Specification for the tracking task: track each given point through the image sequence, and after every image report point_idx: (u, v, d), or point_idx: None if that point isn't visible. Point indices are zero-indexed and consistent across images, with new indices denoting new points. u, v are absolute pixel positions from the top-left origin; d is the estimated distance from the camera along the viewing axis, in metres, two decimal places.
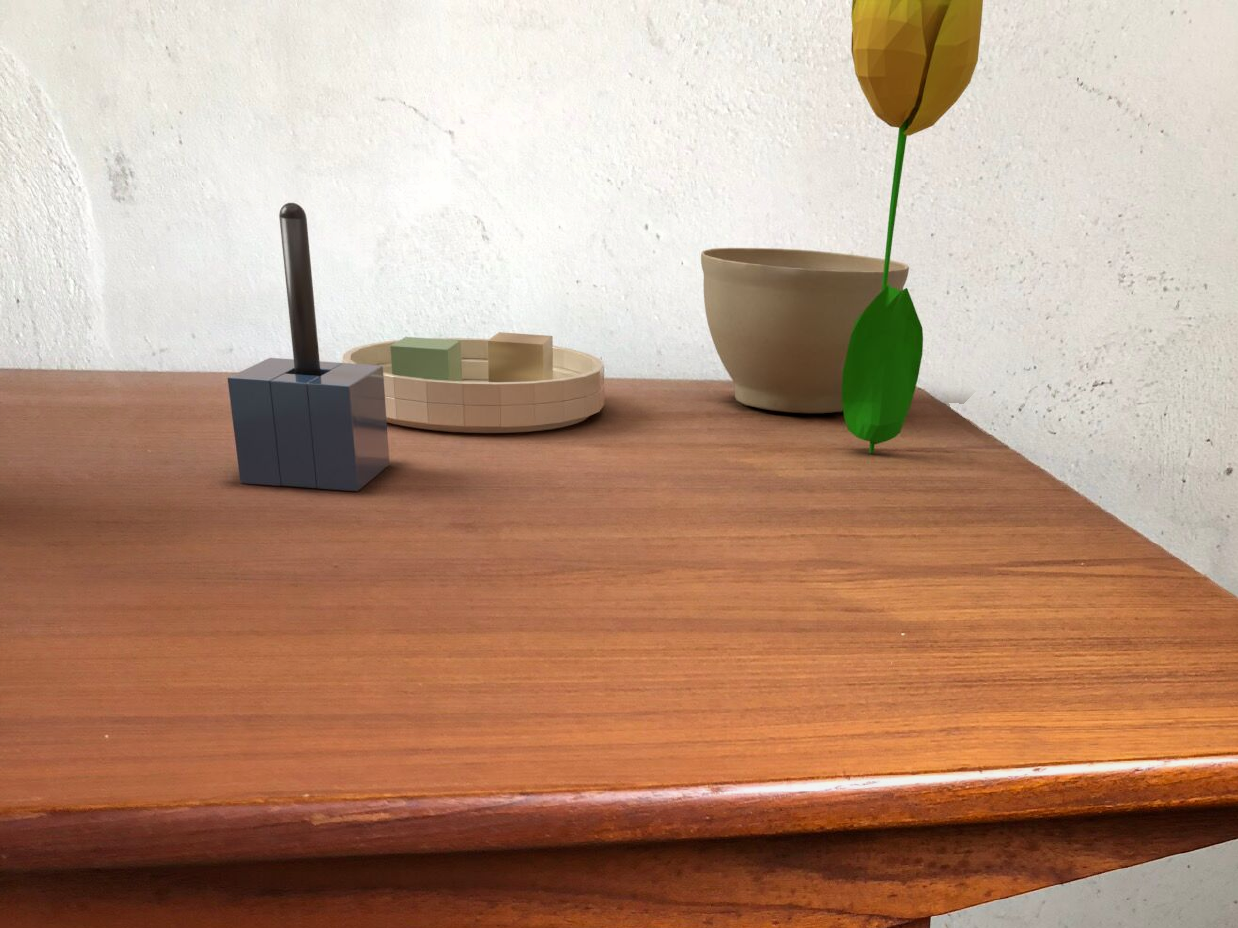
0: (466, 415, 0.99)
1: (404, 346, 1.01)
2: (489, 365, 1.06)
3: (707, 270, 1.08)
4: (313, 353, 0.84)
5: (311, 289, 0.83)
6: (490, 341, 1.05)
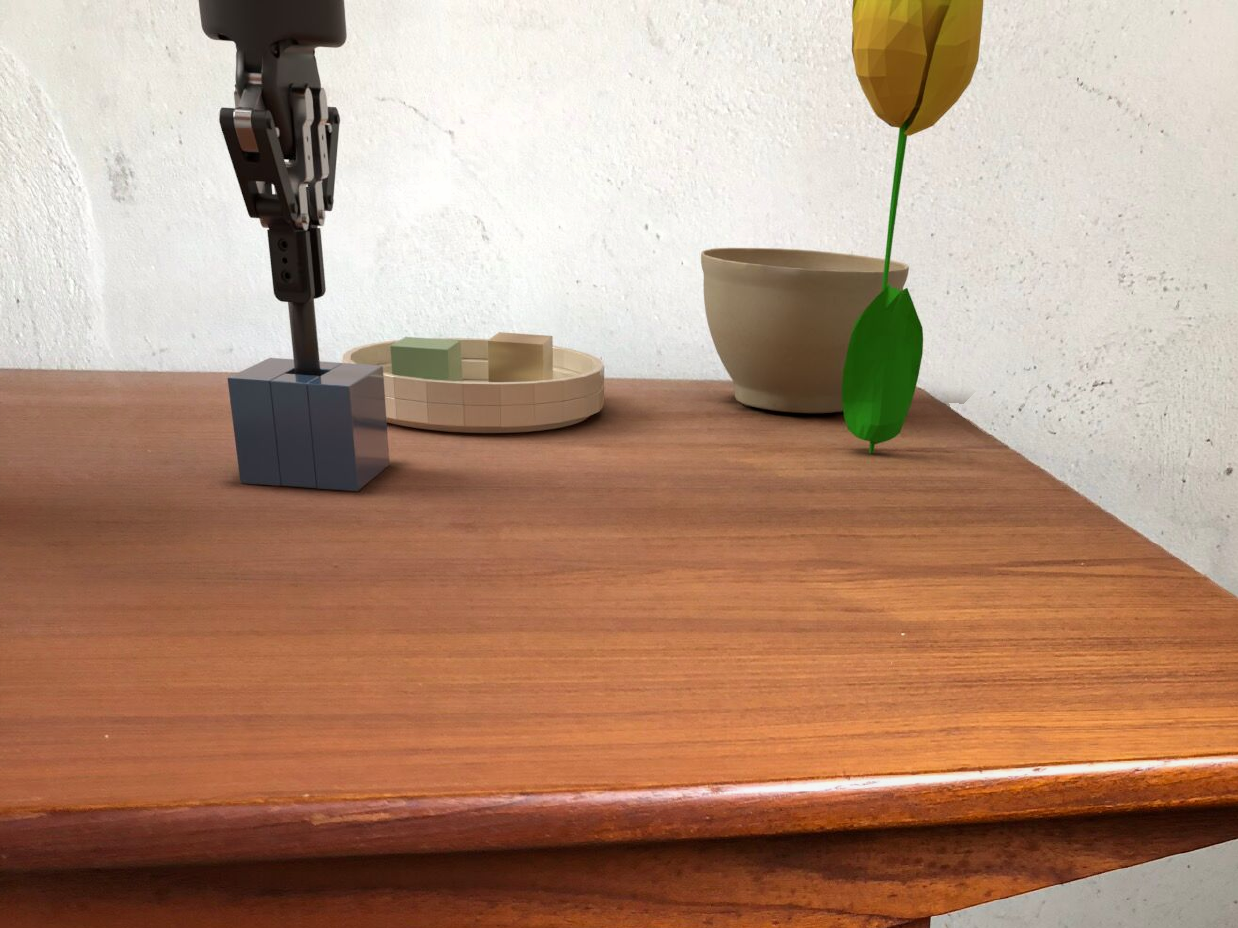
0: (466, 415, 0.99)
1: (404, 346, 1.01)
2: (489, 365, 1.06)
3: (707, 270, 1.08)
4: (313, 353, 0.84)
5: None
6: (490, 341, 1.05)
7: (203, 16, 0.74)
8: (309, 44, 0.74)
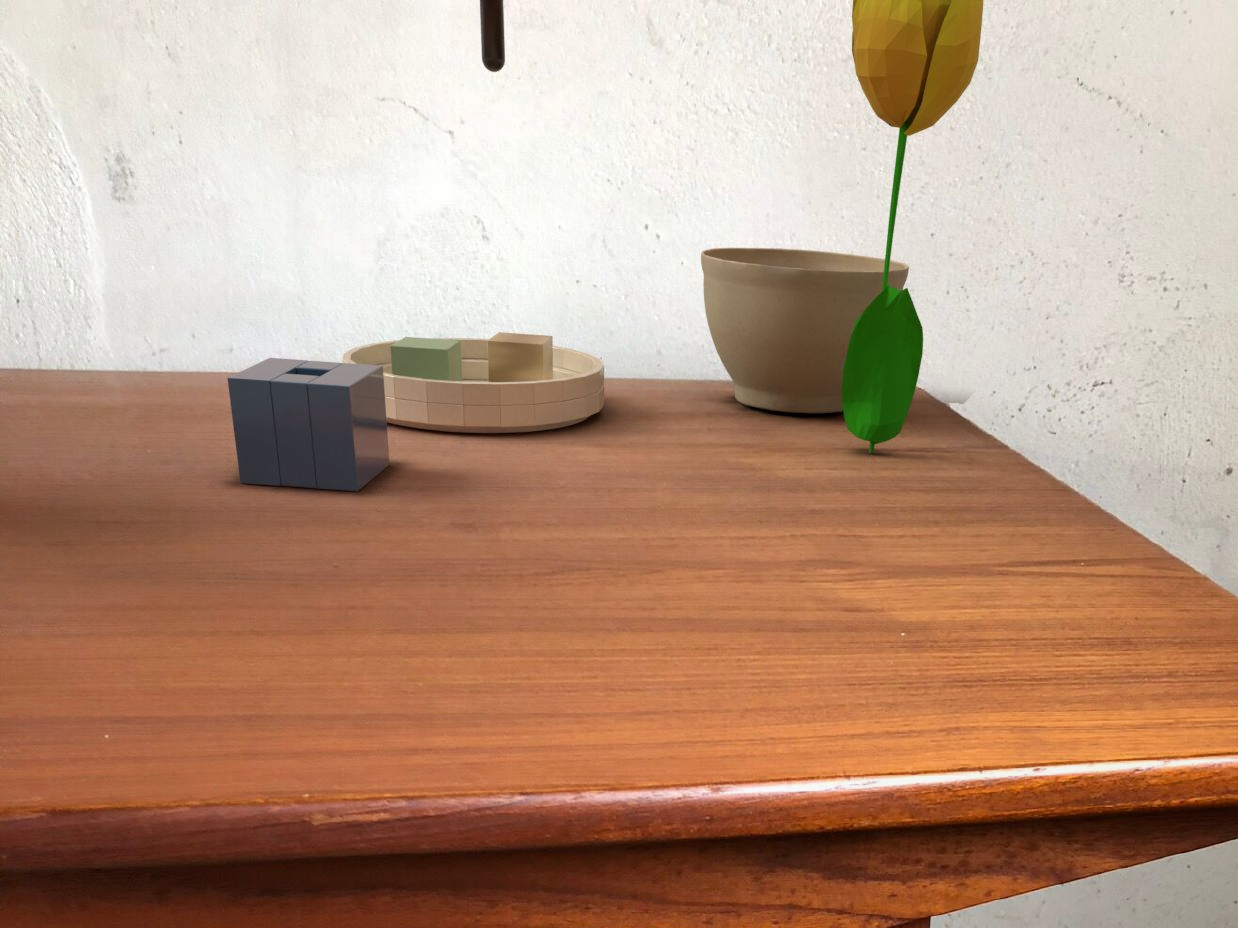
0: (466, 415, 0.99)
1: (404, 346, 1.01)
2: (489, 365, 1.06)
3: (707, 270, 1.08)
4: None
5: None
6: (490, 341, 1.05)
7: None
8: None
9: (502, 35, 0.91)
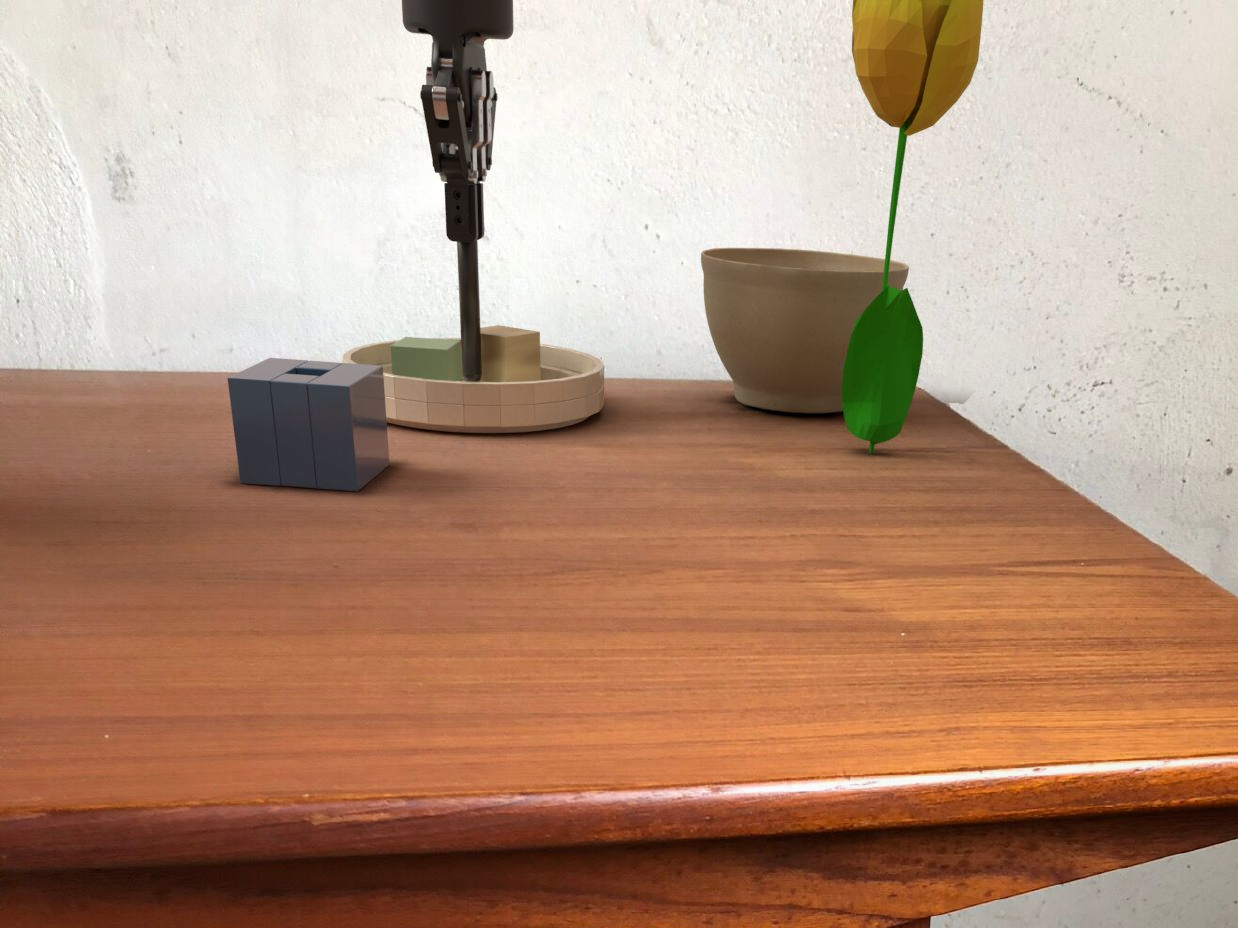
0: (466, 415, 0.99)
1: (404, 346, 1.01)
2: None
3: (707, 270, 1.08)
4: (475, 284, 1.05)
5: None
6: None
7: (406, 14, 0.95)
8: (488, 36, 0.95)
9: (479, 356, 1.08)
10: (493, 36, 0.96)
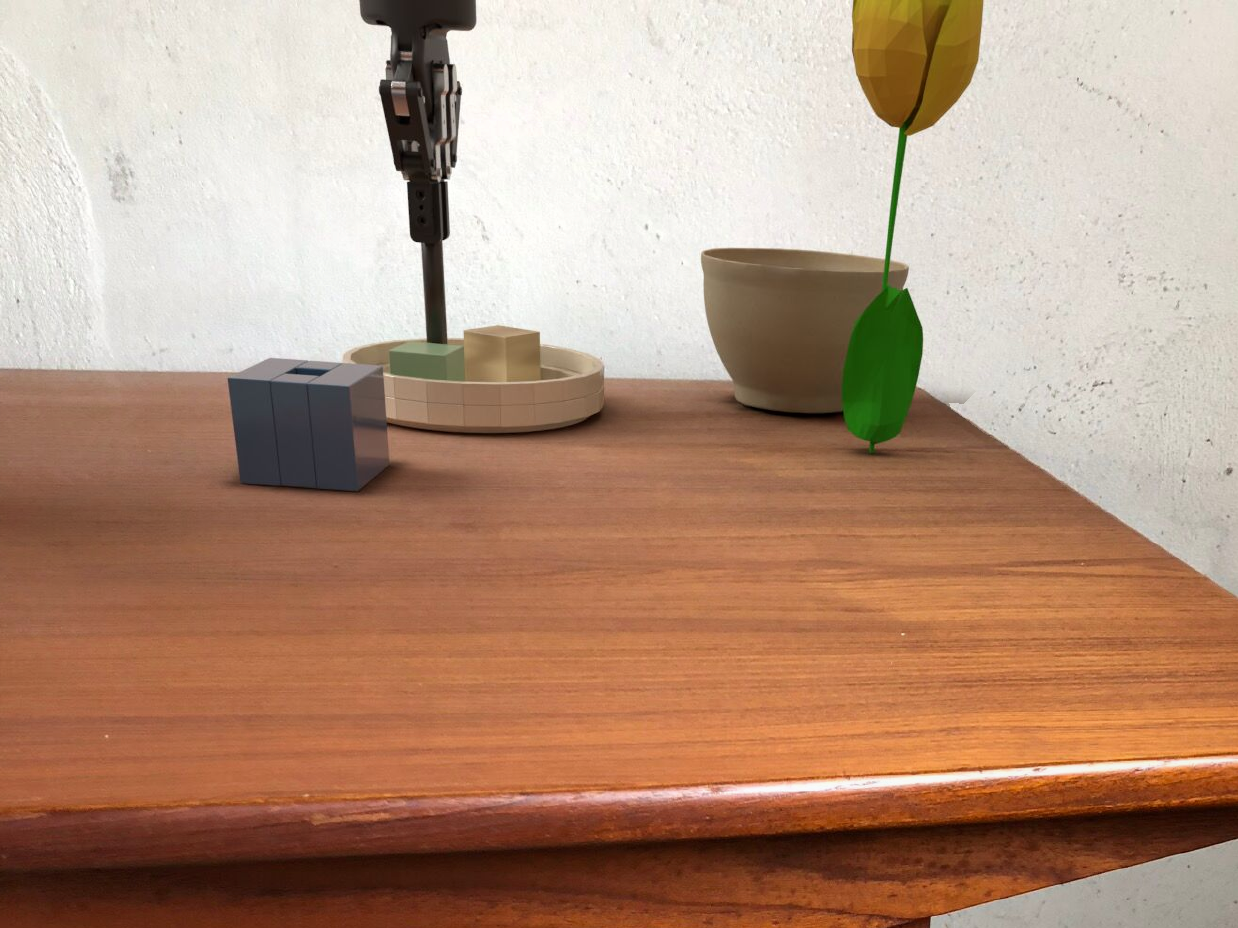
0: (466, 415, 0.99)
1: (403, 351, 1.00)
2: (465, 354, 1.10)
3: (707, 270, 1.08)
4: (440, 286, 1.01)
5: None
6: (465, 331, 1.09)
7: (364, 5, 0.91)
8: (449, 28, 0.91)
9: None
10: (455, 28, 0.91)
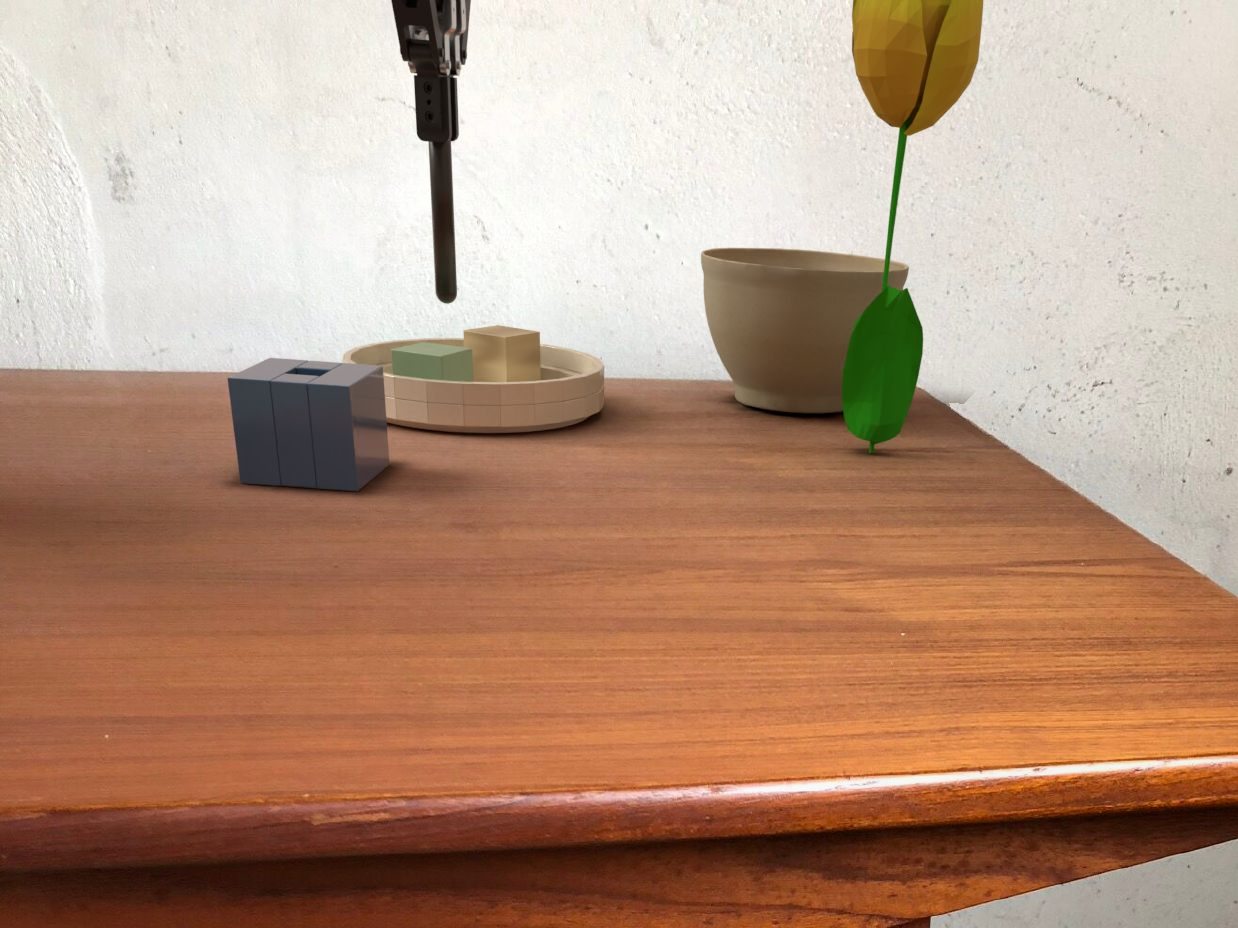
0: (466, 415, 0.99)
1: (404, 350, 1.00)
2: None
3: (707, 270, 1.08)
4: (448, 190, 0.96)
5: None
6: (465, 331, 1.09)
7: None
8: None
9: (454, 273, 0.99)
10: None
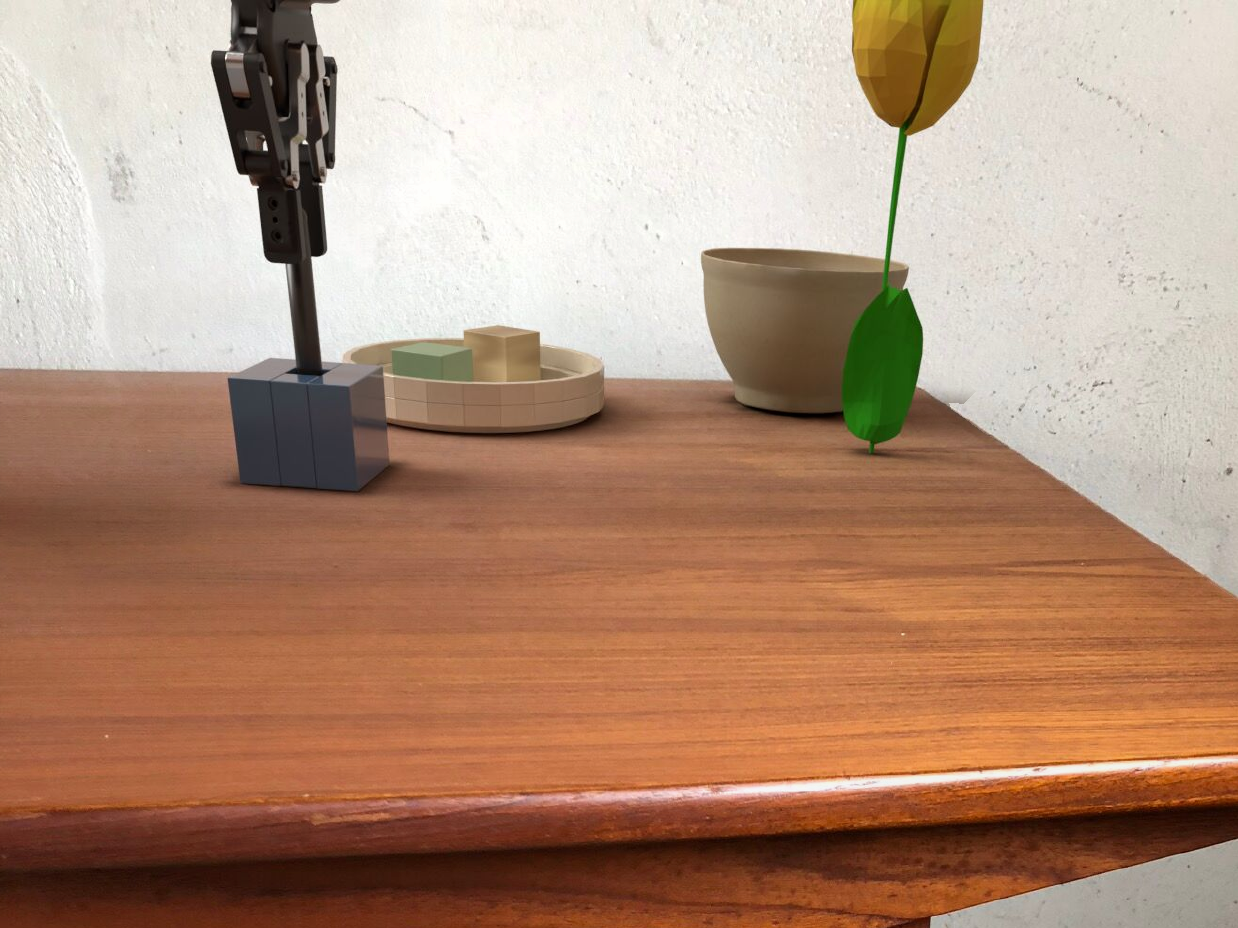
0: (466, 415, 0.99)
1: (404, 351, 1.00)
2: None
3: (707, 270, 1.08)
4: (314, 353, 0.84)
5: (312, 289, 0.83)
6: (465, 331, 1.09)
7: None
8: None
9: None
10: None
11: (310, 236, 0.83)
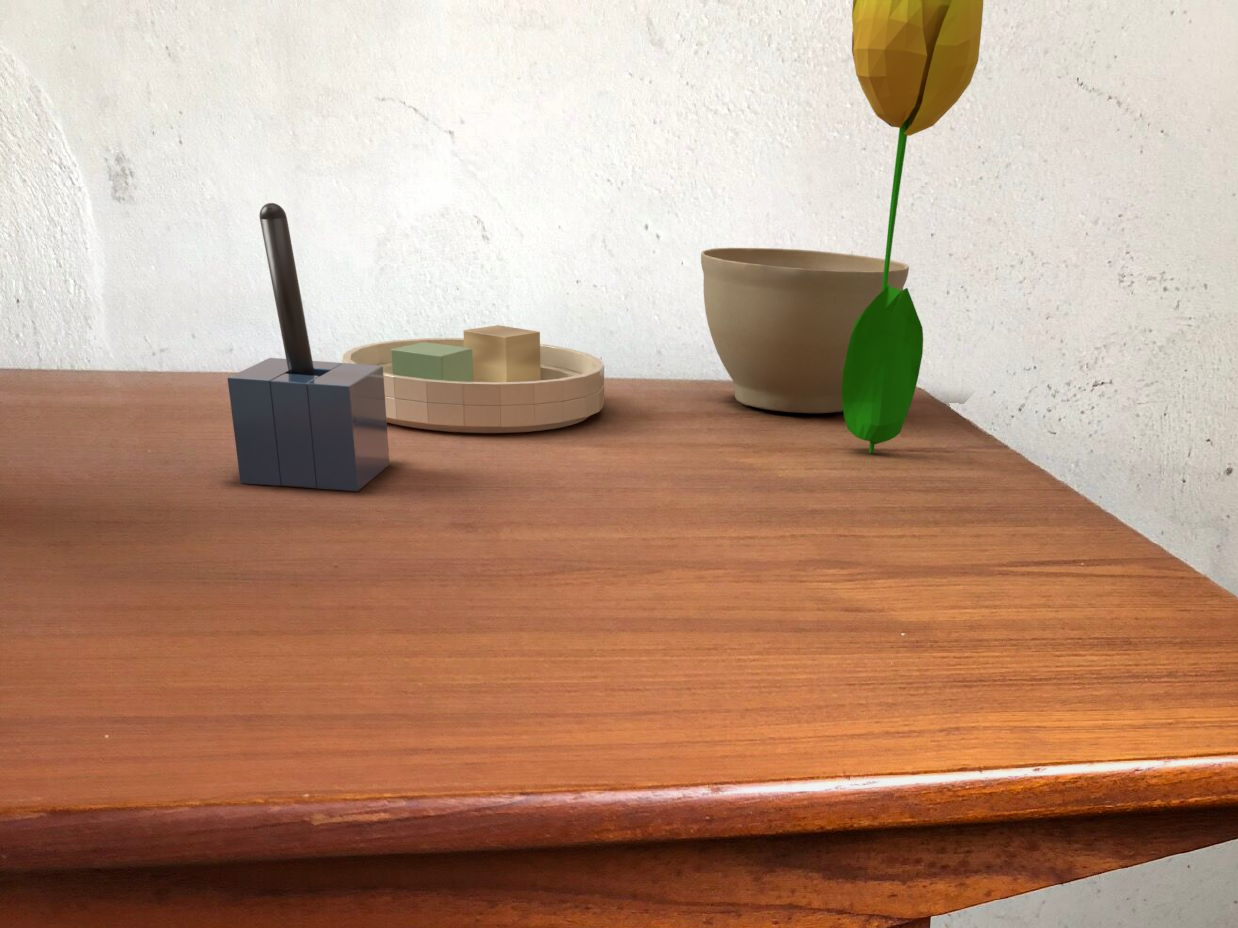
0: (466, 415, 0.99)
1: (404, 351, 1.00)
2: None
3: (707, 270, 1.08)
4: (304, 353, 0.84)
5: (297, 288, 0.82)
6: (465, 331, 1.09)
7: None
8: None
9: None
10: None
11: None
